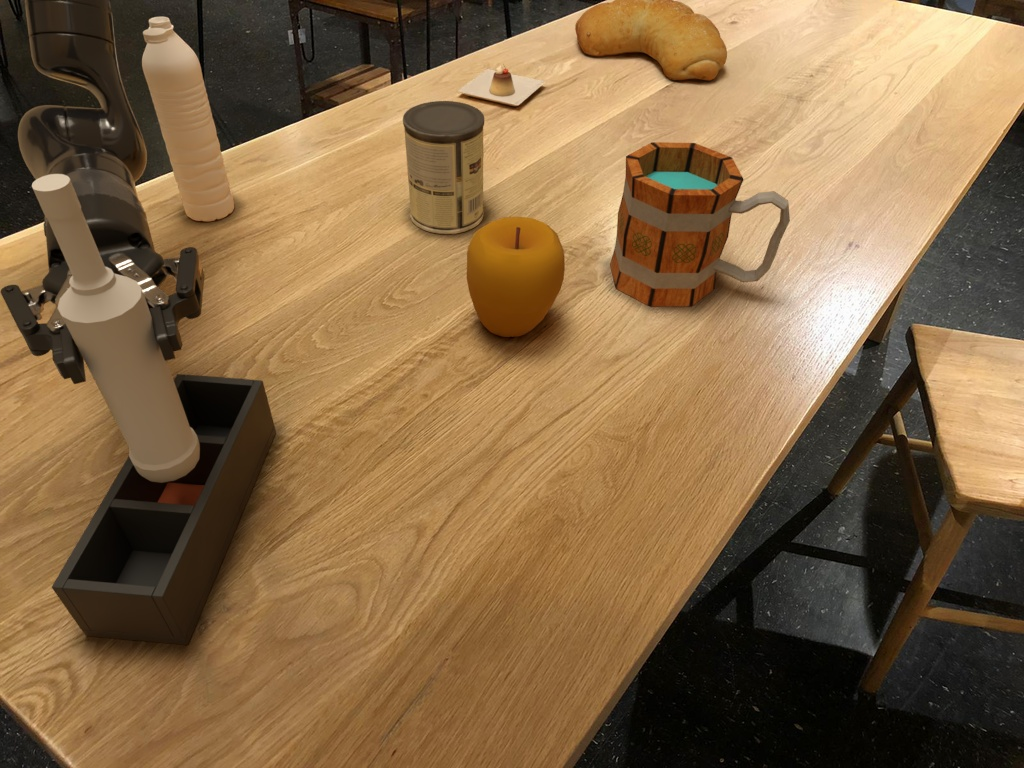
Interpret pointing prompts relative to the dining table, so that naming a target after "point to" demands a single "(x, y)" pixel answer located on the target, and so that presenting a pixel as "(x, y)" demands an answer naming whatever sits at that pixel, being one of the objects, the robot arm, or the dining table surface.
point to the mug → (682, 223)
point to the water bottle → (186, 122)
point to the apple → (514, 274)
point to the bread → (655, 36)
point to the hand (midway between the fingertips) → (121, 361)
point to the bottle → (119, 343)
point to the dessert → (501, 87)
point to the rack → (170, 522)
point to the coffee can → (445, 166)
